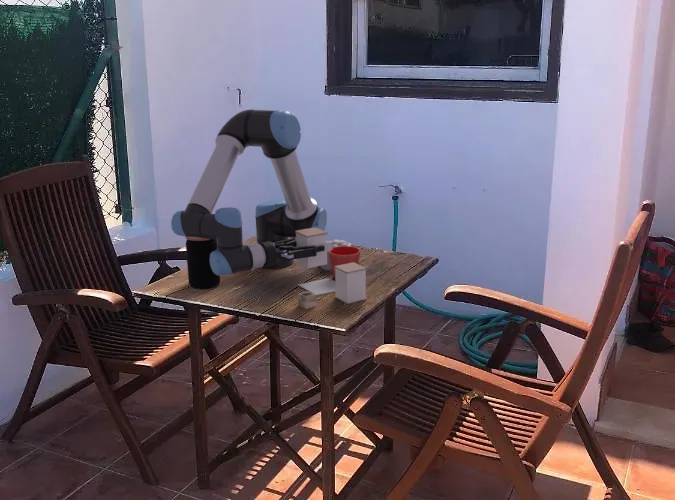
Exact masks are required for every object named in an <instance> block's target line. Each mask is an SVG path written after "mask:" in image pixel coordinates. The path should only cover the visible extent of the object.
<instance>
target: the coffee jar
mask: <svg viewBox="0 0 675 500" xmlns="http://www.w3.org/2000/svg"><path fill="white" fill-rule="evenodd" d="M185 239H186V241H185V253H186V264H187V277H188V285H190V287H191V288H193V289H196V290H210V289H213V288H217V287H218V286H219V284H220V282H221V275H220V276H219V275H216V274H215V273H214V272H213V271H212V269H211V266H210V254H211V253H212V252H213V251H215V250H217V240H213V239H205V238H195V237H185Z"/></svg>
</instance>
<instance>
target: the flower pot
mask: <svg viewBox="0 0 675 500" xmlns="http://www.w3.org/2000/svg"><path fill="white" fill-rule="evenodd" d="M360 256H361V249H359V248H358V247H355V246H351V247H350V246H339V247H334V248H332V250H329V257H330V262H331V267H332V270H331V272H332V274H333V275H332V276H333V277H334V279H335V268H334V266H338V265H343V264H348V263H353V262H354V263H356V264H359V263H360V258H361V257H360Z"/></svg>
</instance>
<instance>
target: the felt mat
mask: <svg viewBox="0 0 675 500" xmlns="http://www.w3.org/2000/svg"><path fill="white" fill-rule="evenodd" d="M298 287H300V288H302V289H304V290H306V291H309V292H311V293H314V294H316V297H319V296H322V295H326V294H331V293H334V292H335V293H336V285H335V280H333V279H332V278H329V277H328V278H322V279H319V280H312V281H309V282H304V283H300V284H298Z"/></svg>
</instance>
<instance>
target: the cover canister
mask: <svg viewBox="0 0 675 500" xmlns="http://www.w3.org/2000/svg"><path fill="white" fill-rule="evenodd" d="M295 233H296V238H295V239H296V244H297V247H304V246H313V245H314V244H319V243H324V242H327V241H328V239H327V238H328V237H327V235H328V231H326V230H325V231H323V230H321V229H318V228H316V227H314V228H308V229H303V230H297V231H295ZM296 263H297V264H299V265H301V266H303V267H305V268H307V269H311V268H316V267H321V265H326V264H327V251H324V252H319V253H317V256H315V257H314V256H313V257H306V258H300V259H296Z"/></svg>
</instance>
